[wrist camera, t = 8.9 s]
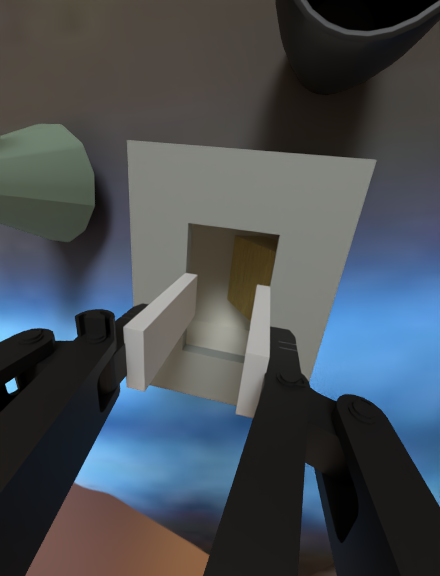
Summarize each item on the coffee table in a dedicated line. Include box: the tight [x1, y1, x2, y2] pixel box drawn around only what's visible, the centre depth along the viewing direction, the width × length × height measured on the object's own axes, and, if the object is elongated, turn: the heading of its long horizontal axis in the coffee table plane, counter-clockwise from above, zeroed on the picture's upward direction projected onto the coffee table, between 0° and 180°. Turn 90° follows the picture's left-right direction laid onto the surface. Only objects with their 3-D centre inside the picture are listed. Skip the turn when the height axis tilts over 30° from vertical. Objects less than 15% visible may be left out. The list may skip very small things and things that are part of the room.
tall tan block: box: [227, 235, 278, 322], centre depth 20 cm, size 6×3×6 cm
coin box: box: [127, 140, 376, 406], centre depth 19 cm, size 16×12×10 cm
